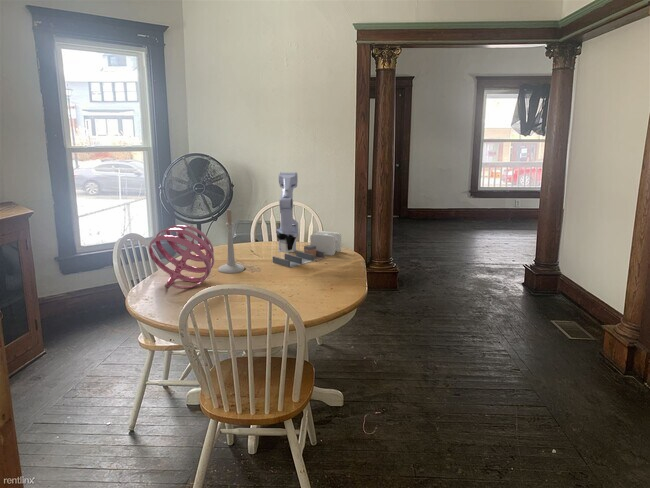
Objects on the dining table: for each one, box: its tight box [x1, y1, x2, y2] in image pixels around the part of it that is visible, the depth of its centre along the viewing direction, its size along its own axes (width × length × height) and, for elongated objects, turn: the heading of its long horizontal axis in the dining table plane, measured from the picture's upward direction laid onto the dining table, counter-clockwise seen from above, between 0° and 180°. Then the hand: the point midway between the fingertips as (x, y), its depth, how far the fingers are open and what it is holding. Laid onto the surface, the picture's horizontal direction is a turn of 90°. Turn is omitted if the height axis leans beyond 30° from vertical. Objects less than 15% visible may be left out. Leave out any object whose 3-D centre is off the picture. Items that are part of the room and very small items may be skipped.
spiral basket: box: [148, 224, 215, 290], centre depth 217 cm, size 28×28×27 cm
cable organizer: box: [309, 230, 342, 256], centre depth 272 cm, size 15×11×12 cm
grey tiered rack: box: [272, 250, 325, 268], centre depth 257 cm, size 14×25×4 cm, turn 136°
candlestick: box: [217, 208, 246, 274], centre depth 240 cm, size 13×13×30 cm
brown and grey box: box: [303, 244, 316, 258], centre depth 262 cm, size 4×5×6 cm
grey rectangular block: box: [280, 239, 294, 254], centre depth 250 cm, size 4×5×6 cm
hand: (287, 249), depth 250 cm, fingers closed on grey rectangular block, 4 cm apart
